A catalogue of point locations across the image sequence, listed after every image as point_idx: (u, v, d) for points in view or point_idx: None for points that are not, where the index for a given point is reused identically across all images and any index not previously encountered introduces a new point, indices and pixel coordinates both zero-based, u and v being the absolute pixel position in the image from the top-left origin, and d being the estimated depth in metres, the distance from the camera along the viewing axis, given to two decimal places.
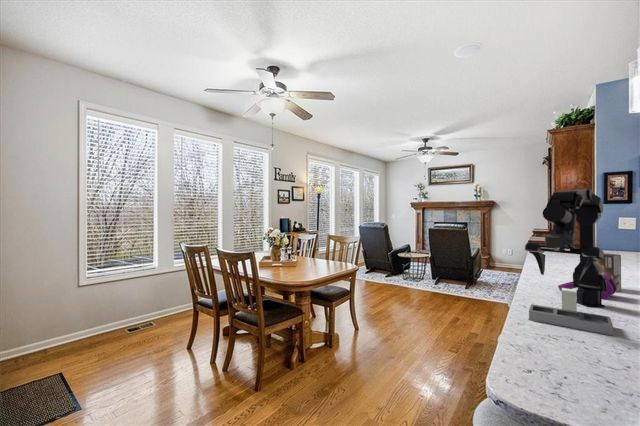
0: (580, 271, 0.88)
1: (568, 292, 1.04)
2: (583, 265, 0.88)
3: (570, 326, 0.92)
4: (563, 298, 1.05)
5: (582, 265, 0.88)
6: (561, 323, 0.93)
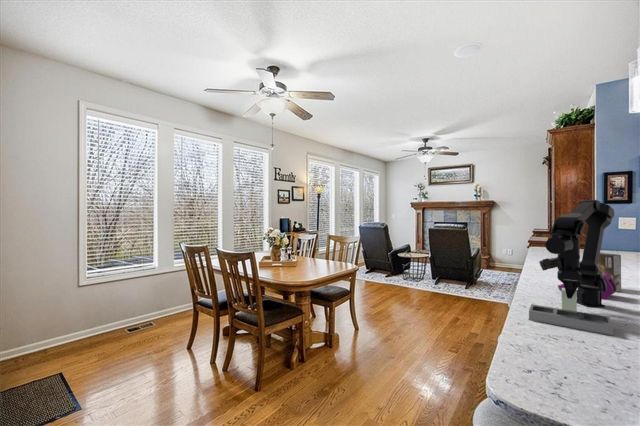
0: (565, 290, 1.02)
1: None
2: (564, 285, 1.02)
3: (570, 326, 0.92)
4: (563, 298, 1.05)
5: (564, 285, 1.02)
6: (561, 323, 0.93)
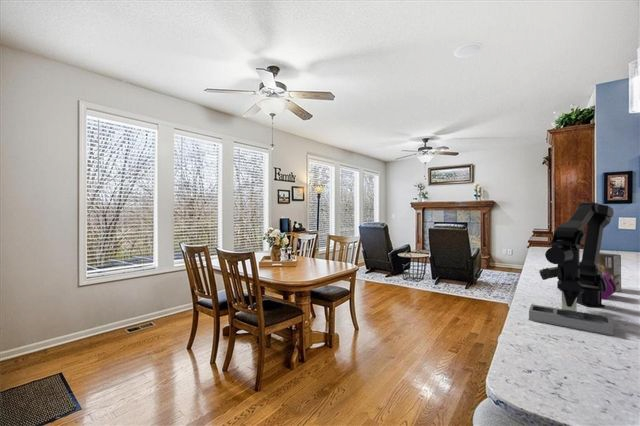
0: (565, 299, 1.04)
1: None
2: (564, 294, 1.04)
3: (570, 326, 0.92)
4: (563, 298, 1.05)
5: (564, 294, 1.04)
6: (561, 323, 0.93)
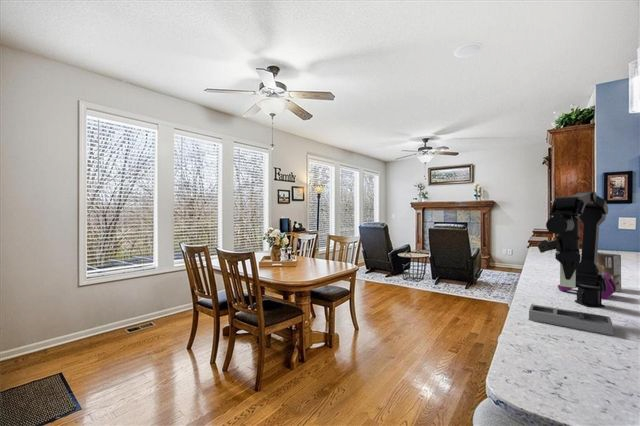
0: None
1: None
2: None
3: (570, 326, 0.92)
4: (561, 271, 1.01)
5: None
6: (561, 323, 0.93)
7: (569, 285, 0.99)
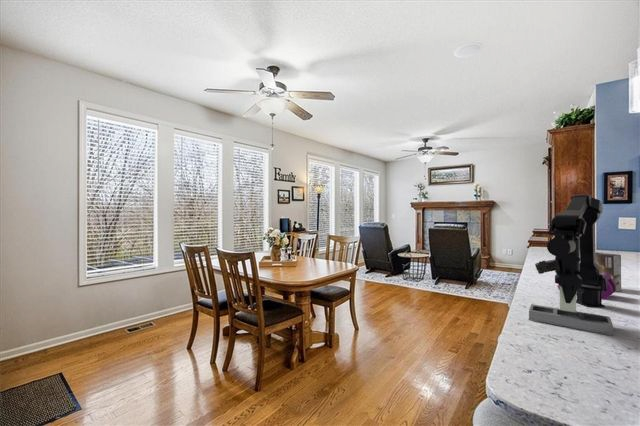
0: None
1: None
2: (562, 289, 0.94)
3: (570, 326, 0.92)
4: (561, 294, 0.95)
5: (562, 289, 0.94)
6: (561, 323, 0.93)
7: (569, 309, 0.94)
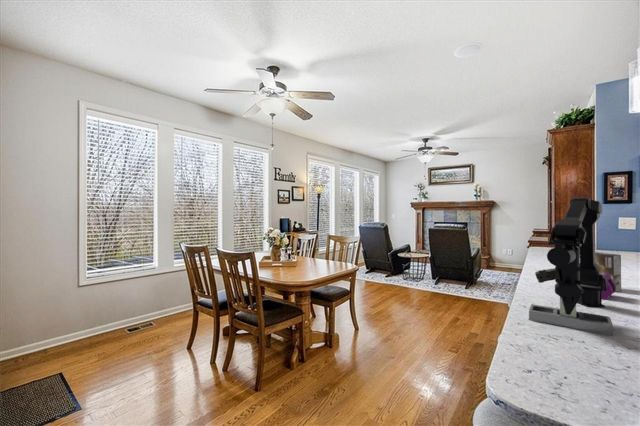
0: None
1: None
2: (562, 300, 0.92)
3: (570, 326, 0.92)
4: (561, 308, 0.95)
5: (562, 300, 0.92)
6: (561, 323, 0.93)
7: None
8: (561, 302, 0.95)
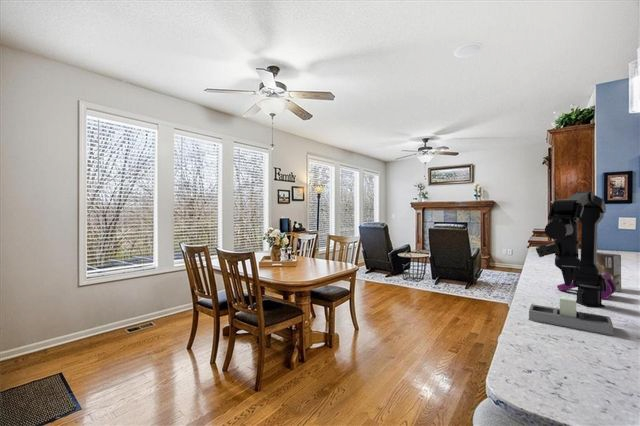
0: (563, 278, 0.96)
1: (567, 301, 0.94)
2: (562, 272, 0.96)
3: (570, 326, 0.92)
4: (561, 308, 0.95)
5: (562, 272, 0.96)
6: (561, 323, 0.93)
7: None
8: (561, 302, 0.95)
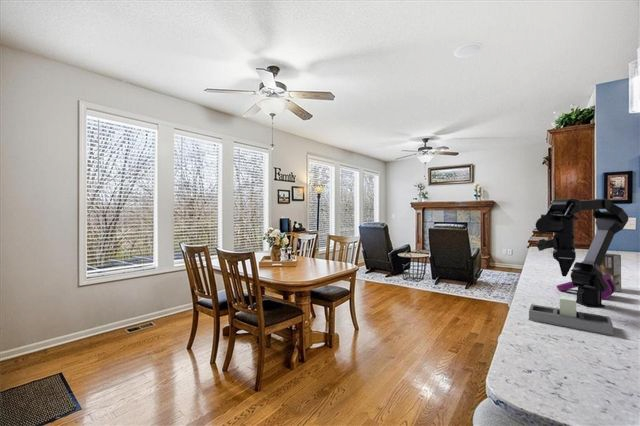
0: None
1: (567, 301, 0.94)
2: (559, 264, 1.06)
3: (570, 326, 0.92)
4: (561, 308, 0.95)
5: (559, 264, 1.07)
6: (561, 323, 0.93)
7: None
8: (561, 302, 0.95)
